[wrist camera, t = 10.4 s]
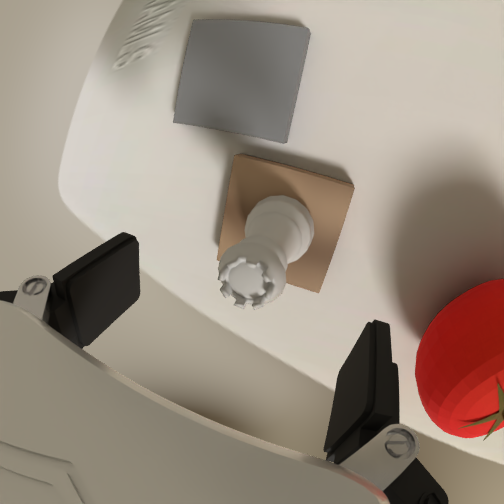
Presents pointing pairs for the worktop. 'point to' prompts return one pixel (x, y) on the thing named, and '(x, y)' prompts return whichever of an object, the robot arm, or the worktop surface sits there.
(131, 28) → the worktop surface
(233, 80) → the charcoal coaster
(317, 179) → the walnut coaster
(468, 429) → the tomato
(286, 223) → the rook chess piece
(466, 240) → the worktop surface
